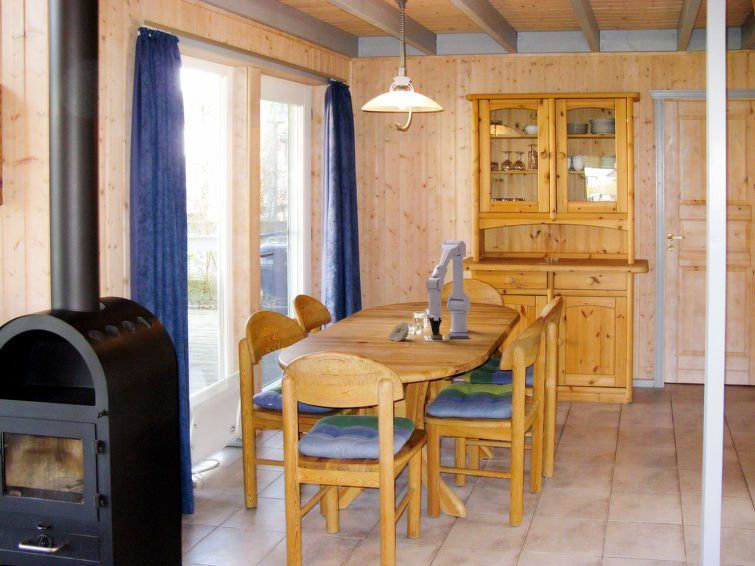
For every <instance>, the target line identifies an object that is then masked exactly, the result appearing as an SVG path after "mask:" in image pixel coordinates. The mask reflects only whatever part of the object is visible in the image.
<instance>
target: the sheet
mask: <svg viewBox="0 0 755 566" xmlns="http://www.w3.org/2000/svg"><path fill="white" fill-rule="evenodd" d="M423 337H424V341H425V342H446V341H447V340H446V338H445V337H444V335H443V340H432V339H431V335H423Z"/></svg>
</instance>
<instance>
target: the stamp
mask: <svg viewBox="0 0 755 566" xmlns="http://www.w3.org/2000/svg"><path fill="white" fill-rule="evenodd" d="M440 330H441V329H440V327H439V332H438V335H433V333H431V334H430V336H431V339H432V340H443V336H444V335H443V334H442V333H440V332H441V331H440Z"/></svg>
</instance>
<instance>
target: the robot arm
mask: <svg viewBox="0 0 755 566" xmlns="http://www.w3.org/2000/svg"><path fill="white" fill-rule="evenodd" d="M441 252H442V253H441V257H440V261H439V263H438V264H436V266H435V267H434V269H433V272H432V274H431V276H430V277H428V278H427V279H426V281H425V282H426V284H425V287H426V290H427V294H428V313H425V316H426V317H428V320H429V323H430V327H431V334H433V335H438V332H439V328H440V326H441V324H442V322H443V320H442V316H443V313H442V291H443V289H444V286H445V284H444V283H445V278H446V276H447V273H448V268H447V267H448V265H449V264H450V263H451V260H452V292H451V294H449V295H448V298H447V299H448V300H447V304H446V306H447V310H448V311H449V313H450V314H451V317H450V318H451V322H450V323H451V328H449V331H450V333H469V331H468V328H467V327H468V326H467V324H468V323H467V314H468V313H469V312H470V310H471V301H470V296H469V295H468V294H467V293H466V292H464V289H465V288H464V258H465V257H467V245H466V243H465V241H464V240H446V239H444V240H443V241H442V244H441Z"/></svg>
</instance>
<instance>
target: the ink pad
mask: <svg viewBox="0 0 755 566" xmlns="http://www.w3.org/2000/svg"><path fill="white" fill-rule="evenodd" d="M447 338H448V339H449V340H469V339H470V336H469V335H468V333H467V332H449V333H448V334H447Z"/></svg>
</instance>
